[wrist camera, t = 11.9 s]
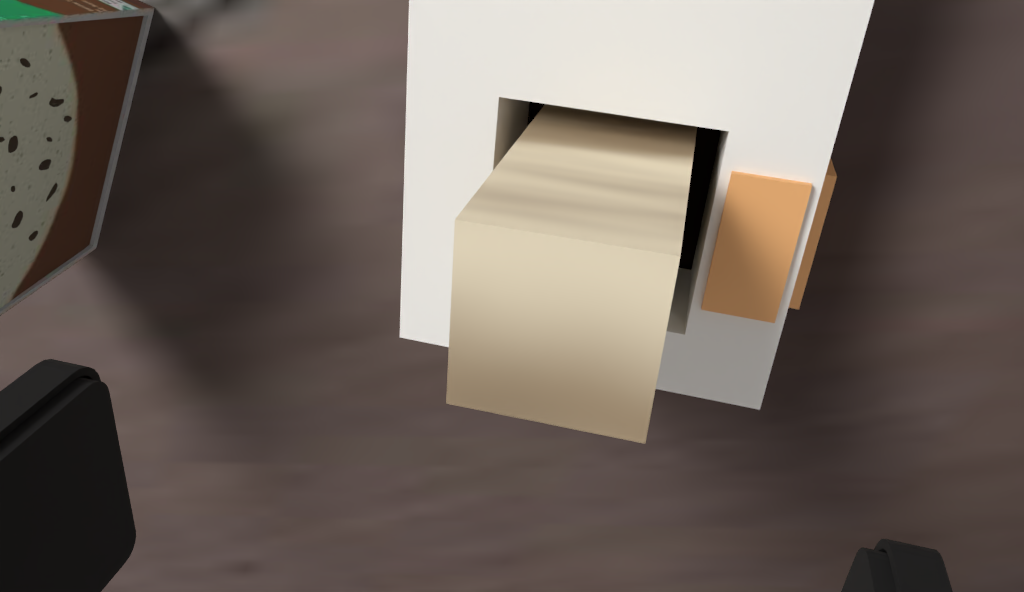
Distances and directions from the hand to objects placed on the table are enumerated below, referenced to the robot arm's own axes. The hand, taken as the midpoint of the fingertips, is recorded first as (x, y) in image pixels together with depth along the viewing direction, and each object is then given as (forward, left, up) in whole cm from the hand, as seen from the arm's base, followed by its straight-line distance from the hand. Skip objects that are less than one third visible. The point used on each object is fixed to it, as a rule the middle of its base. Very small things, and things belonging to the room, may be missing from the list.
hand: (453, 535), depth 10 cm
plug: (0, 0, -16) cm, 16 cm away
